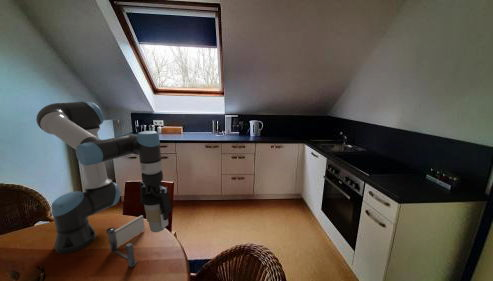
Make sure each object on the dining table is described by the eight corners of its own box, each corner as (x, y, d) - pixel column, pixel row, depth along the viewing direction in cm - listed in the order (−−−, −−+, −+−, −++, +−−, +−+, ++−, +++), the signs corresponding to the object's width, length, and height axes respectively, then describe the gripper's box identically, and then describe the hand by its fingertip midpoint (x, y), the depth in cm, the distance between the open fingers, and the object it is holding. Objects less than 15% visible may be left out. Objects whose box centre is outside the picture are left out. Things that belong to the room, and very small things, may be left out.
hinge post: (108, 251, 96) (104, 230, 94) (115, 246, 99) (112, 226, 97) (112, 254, 95) (109, 232, 92) (119, 249, 98) (116, 228, 95)
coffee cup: (161, 236, 84) (157, 201, 81) (140, 233, 86) (135, 199, 83) (174, 222, 93) (171, 190, 90) (154, 219, 95) (151, 188, 92)
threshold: (114, 252, 96) (114, 251, 96) (117, 250, 97) (117, 250, 97) (135, 263, 90) (135, 263, 90) (137, 262, 90) (137, 261, 90)
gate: (117, 246, 98) (115, 231, 96) (116, 245, 98) (113, 230, 97) (144, 229, 110) (143, 215, 108) (143, 228, 110) (141, 215, 109)
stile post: (128, 266, 89) (125, 245, 86) (132, 263, 90) (129, 242, 88) (131, 267, 88) (128, 246, 85) (135, 265, 89) (132, 244, 87)
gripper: (125, 169, 85) (132, 220, 91) (163, 179, 76) (168, 236, 81) (142, 164, 92) (148, 212, 97) (179, 172, 82) (183, 225, 88)
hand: (157, 223), depth 89 cm, fingers closed on coffee cup, 8 cm apart
